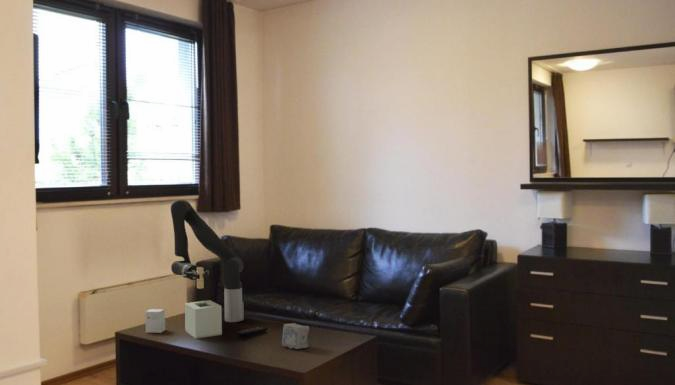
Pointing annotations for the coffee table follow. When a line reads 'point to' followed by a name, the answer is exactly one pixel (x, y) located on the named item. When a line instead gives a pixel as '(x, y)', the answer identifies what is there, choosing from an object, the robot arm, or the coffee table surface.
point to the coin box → (203, 319)
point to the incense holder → (295, 336)
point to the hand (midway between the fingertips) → (202, 276)
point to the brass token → (200, 281)
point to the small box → (155, 320)
